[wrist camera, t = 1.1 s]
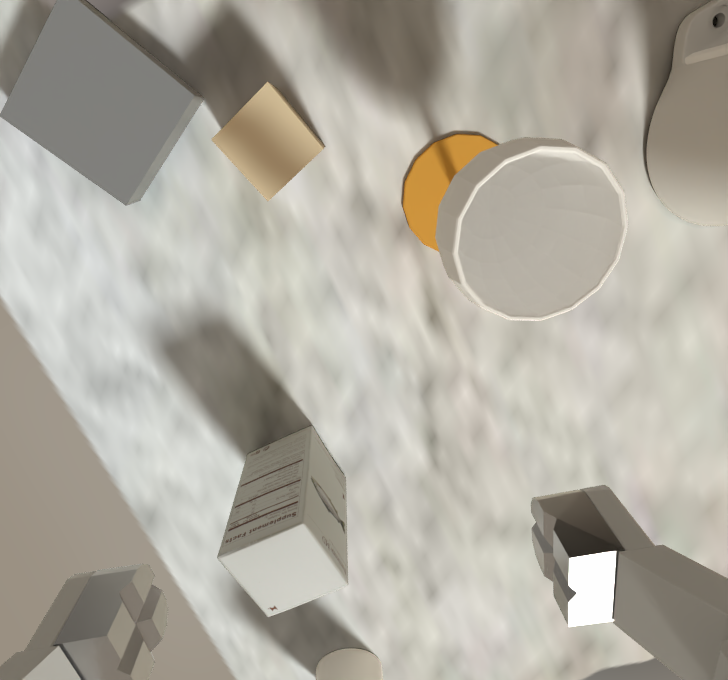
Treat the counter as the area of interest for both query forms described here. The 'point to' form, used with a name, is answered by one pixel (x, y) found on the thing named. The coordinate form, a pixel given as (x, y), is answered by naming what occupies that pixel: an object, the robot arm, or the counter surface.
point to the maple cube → (268, 141)
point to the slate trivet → (100, 101)
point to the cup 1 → (349, 665)
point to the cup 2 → (518, 221)
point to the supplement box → (288, 524)
